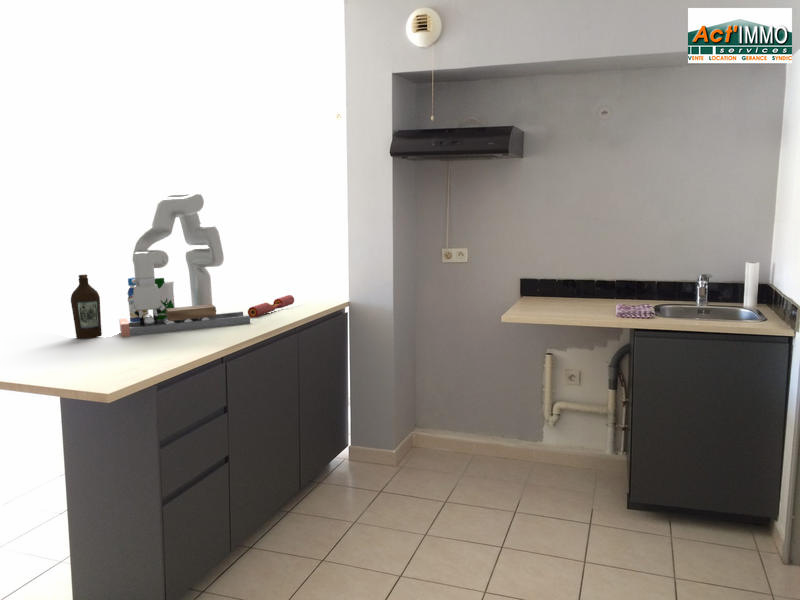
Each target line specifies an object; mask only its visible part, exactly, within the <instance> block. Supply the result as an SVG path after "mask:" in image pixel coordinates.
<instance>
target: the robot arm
mask: <svg viewBox="0 0 800 600" xmlns="http://www.w3.org/2000/svg"><path fill="white" fill-rule="evenodd" d="M203 207H204V196H203V195H202V194H201V193H199V192H197V191H195V192H194V191H191V192H190V191H189V192H172V193H168V194H167V195H166V196H165V197H164V198H162V199H160V200H159V201H158V203H157V205H156V210H155V213H154V215H153V219H152V224H151V227H150V228H149V229H147V230H146V231H144V233H143V234H142V235H141V236H140V237H139V238H138V240H137V241H136V242H135V247H134V249H133V253H132V263H133V269H134V278H135V279H134V280H132V283H134V284H136V286H134V303H133V305H132V307H131V308H130V312H132V313H134V314H136V315H137V316H139V317H140V325H142V326H144V318H143V316H142V314H143V310H148V311H150V310H151V311H152V313H153V312H154V316H153V315H152V317H153V319H154V320H155V324H154V325H156V324H158V322H157V316H158V314H159V313H160V312H161V311H162V310H164V309H165V306H164V305H163V304H162V302H161V301H160V295H159V289H158V286H157V285H156V284H155V278H156V277H155V269H161V268H164V267H166V266H167V265H168V263H169V261H170V260H169V256H168V254H167V252H166V251H164V250H162V249H151V250H150V249H149V248H150V247H152V245H154V244H155V243H157V242H160V241H162V240H164V239H166V238H167V237H169V236H170V235H172V233H173V228H174V225H175V221H176V219H177V218H179V221H180V225H181V229H182V233H183V236H184V237H183V238H184V241H185V242H186V244H187V245H188V246H193V247H191V248H189V249H188V250H187V251H186V253H185V261H186V264H187V268H188V275H189V284H190V285H189V287H190V296H191V298H190V299H191V306H199V305H209V304H212V305H213V295H212V293H213V292H212V281H211V274H210V273H209V271H208V269H207V268H214V267H215V268H216V267H217V268H218V267H220V266H221V265H223V263H224V259H225V258H224V257H225V256H224V252H223V246H222V242H221V241H222V240H221V235H220V232H219V230H218V229H217V227H216V226H215V225H212V224H202V223H201V220H200V217H199V216H200V215H199V212H201V210H202V209H203ZM194 246H195V247H194ZM160 306H161V308H160ZM134 308H135V309H136V310H139V312H137V311H135V310H134ZM158 308H159V309H158ZM156 309H158V310H156ZM130 312H129V313H130Z"/></svg>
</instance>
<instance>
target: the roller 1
mask: <svg viewBox="0 0 800 600" xmlns="http://www.w3.org/2000/svg"><path fill="white" fill-rule="evenodd" d="M143 318H144V324H145V325H146V326H151V325H154V324H155V320H154V319H153V315H151V314H150V313H148V314H146V315H144V316H143Z"/></svg>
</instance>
